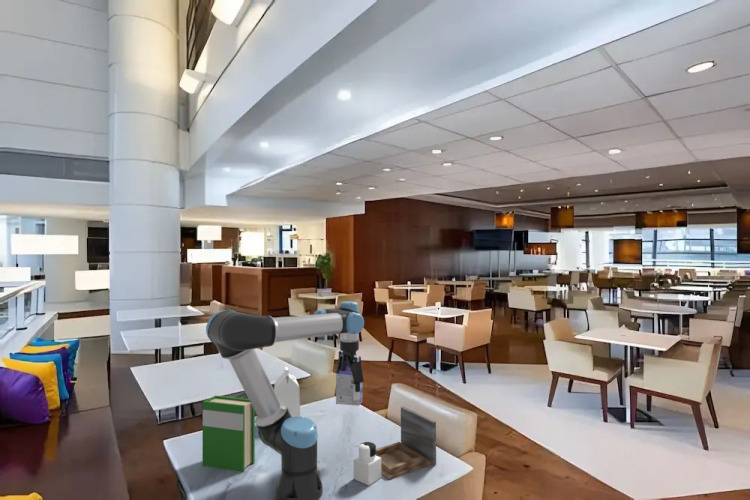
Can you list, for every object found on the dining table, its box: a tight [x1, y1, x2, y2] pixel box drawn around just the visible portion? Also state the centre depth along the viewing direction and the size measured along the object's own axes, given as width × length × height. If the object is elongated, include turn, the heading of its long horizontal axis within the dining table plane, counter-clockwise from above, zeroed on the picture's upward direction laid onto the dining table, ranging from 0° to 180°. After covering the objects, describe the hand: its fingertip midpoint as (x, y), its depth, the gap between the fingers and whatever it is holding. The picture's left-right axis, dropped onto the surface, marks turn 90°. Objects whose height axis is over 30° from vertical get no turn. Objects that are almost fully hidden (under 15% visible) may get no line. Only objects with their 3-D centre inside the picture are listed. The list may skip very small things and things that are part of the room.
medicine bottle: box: [353, 441, 382, 486], centre depth 150 cm, size 7×7×12 cm
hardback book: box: [201, 395, 256, 473], centre depth 161 cm, size 18×7×24 cm, turn 73°
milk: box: [273, 366, 301, 417], centre depth 200 cm, size 12×12×26 cm
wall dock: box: [376, 406, 437, 480], centre depth 163 cm, size 21×20×16 cm
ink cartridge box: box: [335, 365, 363, 406], centre depth 171 cm, size 10×6×14 cm, turn 78°
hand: (349, 395), depth 171 cm, fingers closed on ink cartridge box, 10 cm apart
